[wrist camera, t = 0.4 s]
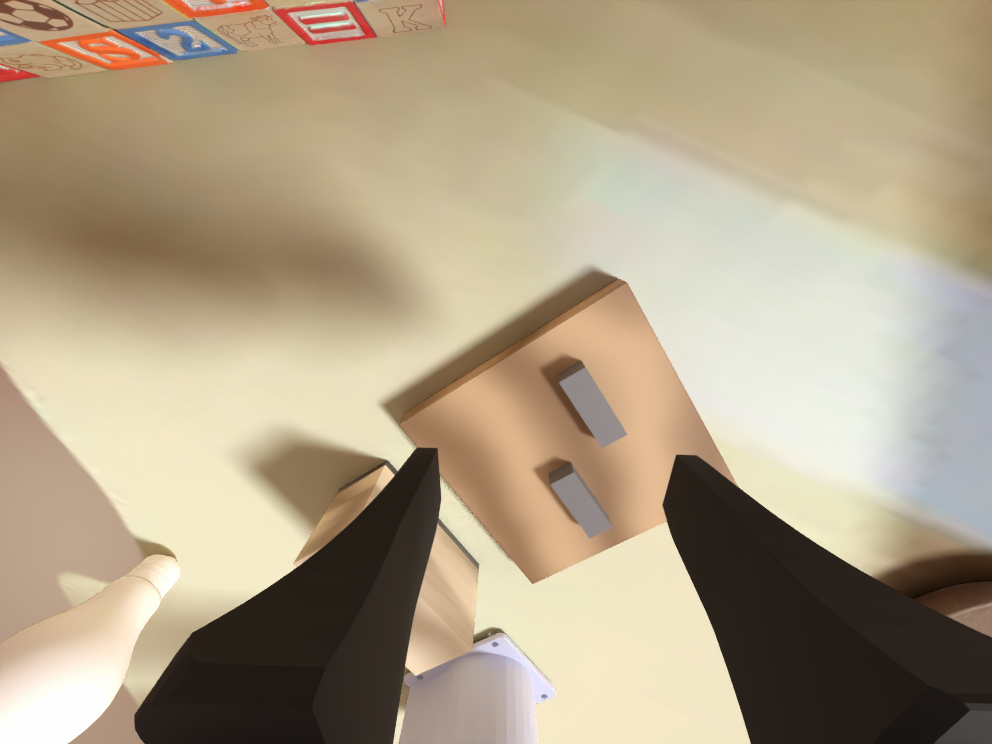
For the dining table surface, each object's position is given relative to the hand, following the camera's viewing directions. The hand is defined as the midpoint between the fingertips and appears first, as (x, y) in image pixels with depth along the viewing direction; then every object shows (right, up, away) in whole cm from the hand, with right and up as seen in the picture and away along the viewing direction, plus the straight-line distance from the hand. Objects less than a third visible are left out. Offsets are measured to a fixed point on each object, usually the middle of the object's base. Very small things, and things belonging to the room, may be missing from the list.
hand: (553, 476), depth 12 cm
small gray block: (+3, -4, +11) cm, 12 cm away
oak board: (+3, -1, +12) cm, 12 cm away
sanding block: (-7, -7, +14) cm, 18 cm away
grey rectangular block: (+3, +2, +9) cm, 10 cm away
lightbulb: (-25, -10, +16) cm, 31 cm away
